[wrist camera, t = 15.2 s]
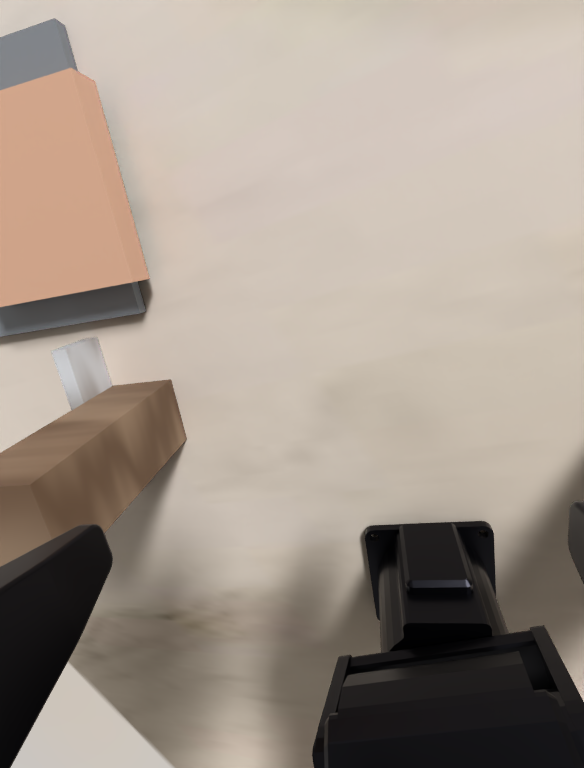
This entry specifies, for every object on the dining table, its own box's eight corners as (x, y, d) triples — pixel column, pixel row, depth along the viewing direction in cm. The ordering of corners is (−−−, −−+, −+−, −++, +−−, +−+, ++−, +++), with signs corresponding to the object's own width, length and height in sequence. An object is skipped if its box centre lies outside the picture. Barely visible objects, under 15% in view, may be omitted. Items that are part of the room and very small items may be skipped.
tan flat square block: (132, 282, 18) (-17, 310, 20) (151, 278, 20) (11, 304, 21) (71, 67, 16) (-94, 120, 17) (97, 82, 17) (-56, 129, 19)
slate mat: (146, 311, 21) (140, 313, 20) (-2, 335, 23) (-11, 338, 22) (64, 25, 17) (54, 18, 17) (-103, 83, 19) (-117, 78, 19)
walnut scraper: (198, 482, 24) (92, 637, 15) (131, 485, 25) (-9, 634, 16) (157, 328, 21) (-5, 401, 12) (83, 338, 22) (-120, 414, 13)
